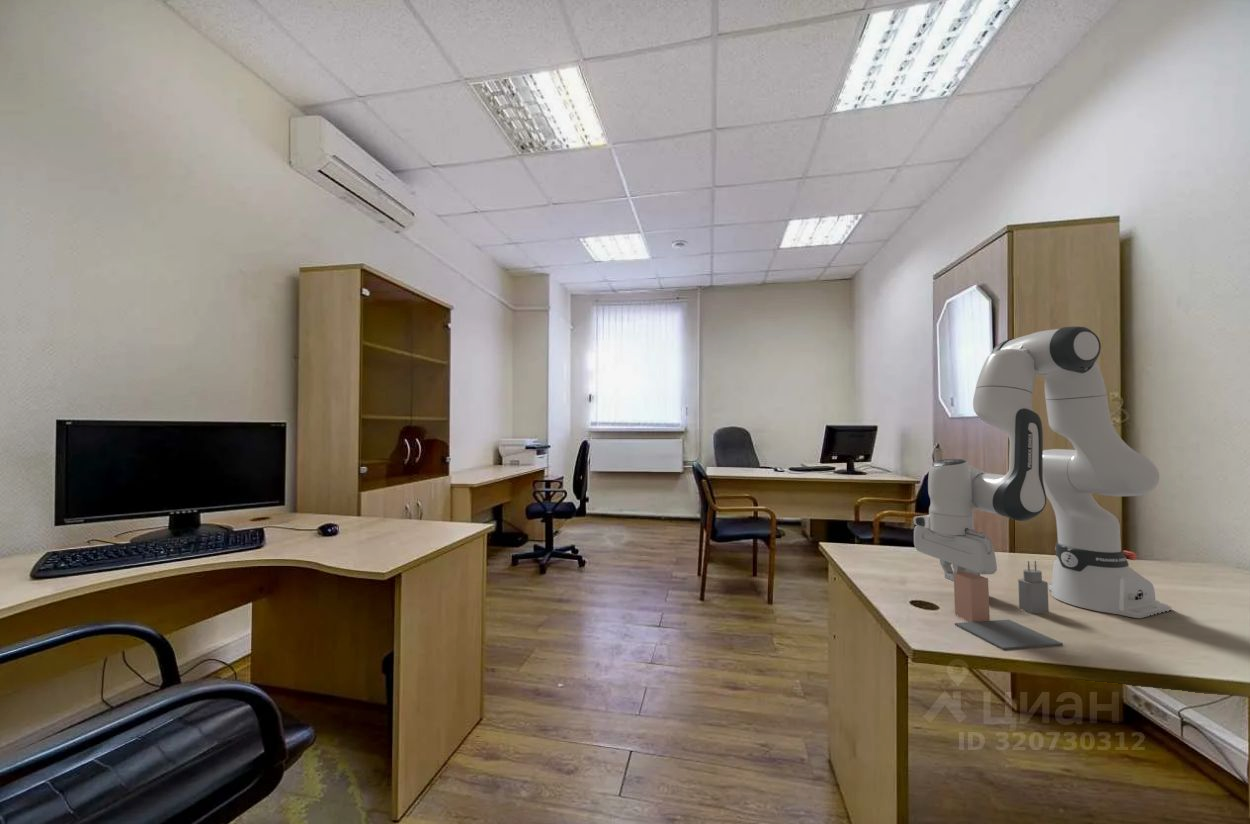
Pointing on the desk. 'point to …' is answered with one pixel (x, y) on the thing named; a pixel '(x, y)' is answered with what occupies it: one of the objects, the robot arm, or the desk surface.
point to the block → (971, 596)
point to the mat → (1007, 634)
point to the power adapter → (1033, 591)
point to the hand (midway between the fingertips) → (953, 580)
